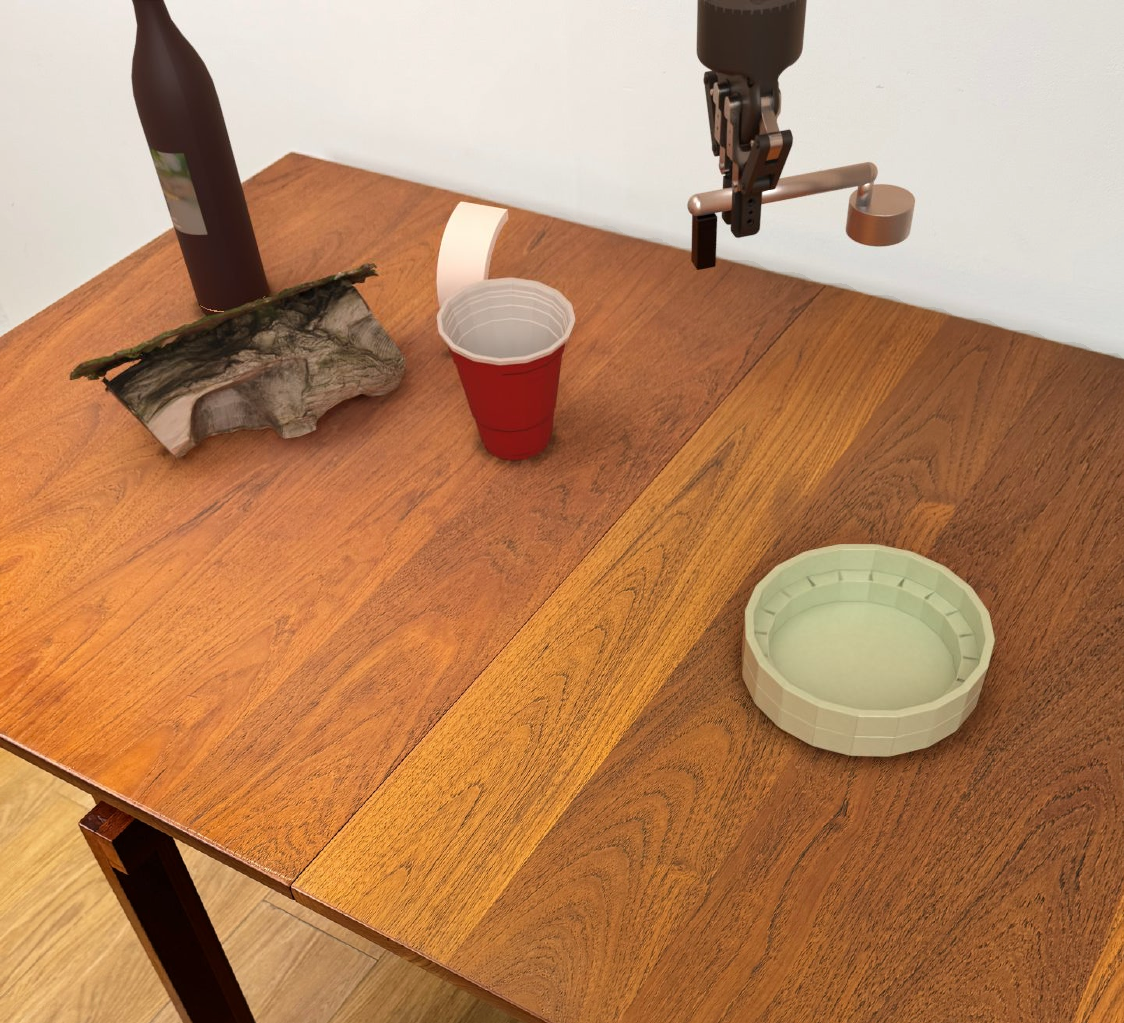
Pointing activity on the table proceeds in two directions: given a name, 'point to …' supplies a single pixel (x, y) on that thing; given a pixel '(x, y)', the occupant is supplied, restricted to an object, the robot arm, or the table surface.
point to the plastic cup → (508, 359)
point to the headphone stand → (467, 247)
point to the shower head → (871, 209)
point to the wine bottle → (194, 163)
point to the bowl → (865, 649)
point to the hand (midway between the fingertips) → (740, 226)
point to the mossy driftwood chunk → (257, 365)
